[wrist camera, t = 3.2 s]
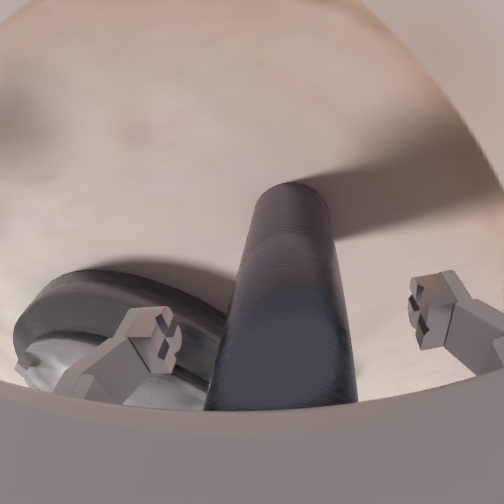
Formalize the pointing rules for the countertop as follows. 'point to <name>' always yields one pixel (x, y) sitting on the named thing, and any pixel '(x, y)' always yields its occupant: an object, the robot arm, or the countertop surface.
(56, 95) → the countertop surface
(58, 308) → the housing
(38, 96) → the countertop surface
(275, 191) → the pin
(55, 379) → the grey round disc
